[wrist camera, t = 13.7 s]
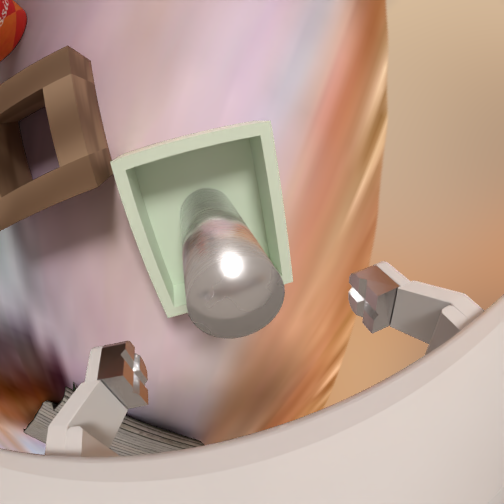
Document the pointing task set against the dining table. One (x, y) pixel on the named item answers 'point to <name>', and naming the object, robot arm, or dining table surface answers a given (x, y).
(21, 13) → the paper cup
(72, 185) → the socket block
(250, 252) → the steel pin
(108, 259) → the dining table surface
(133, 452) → the mat
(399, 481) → the robot arm
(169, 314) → the tray
